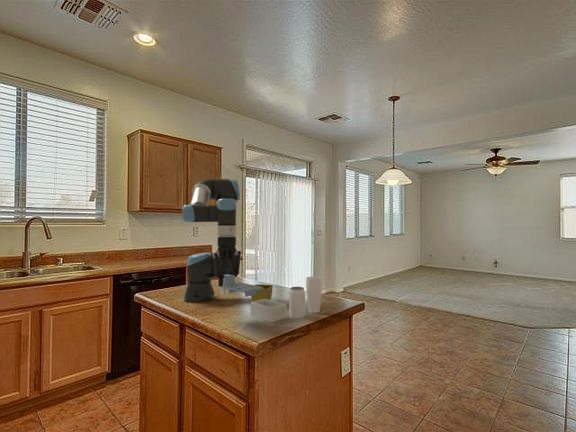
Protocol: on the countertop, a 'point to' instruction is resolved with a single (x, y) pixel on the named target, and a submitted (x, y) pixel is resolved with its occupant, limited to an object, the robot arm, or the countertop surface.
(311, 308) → the drinking glass
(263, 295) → the flower pot
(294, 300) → the can
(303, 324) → the countertop surface
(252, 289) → the lid
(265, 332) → the countertop surface
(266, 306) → the tub
